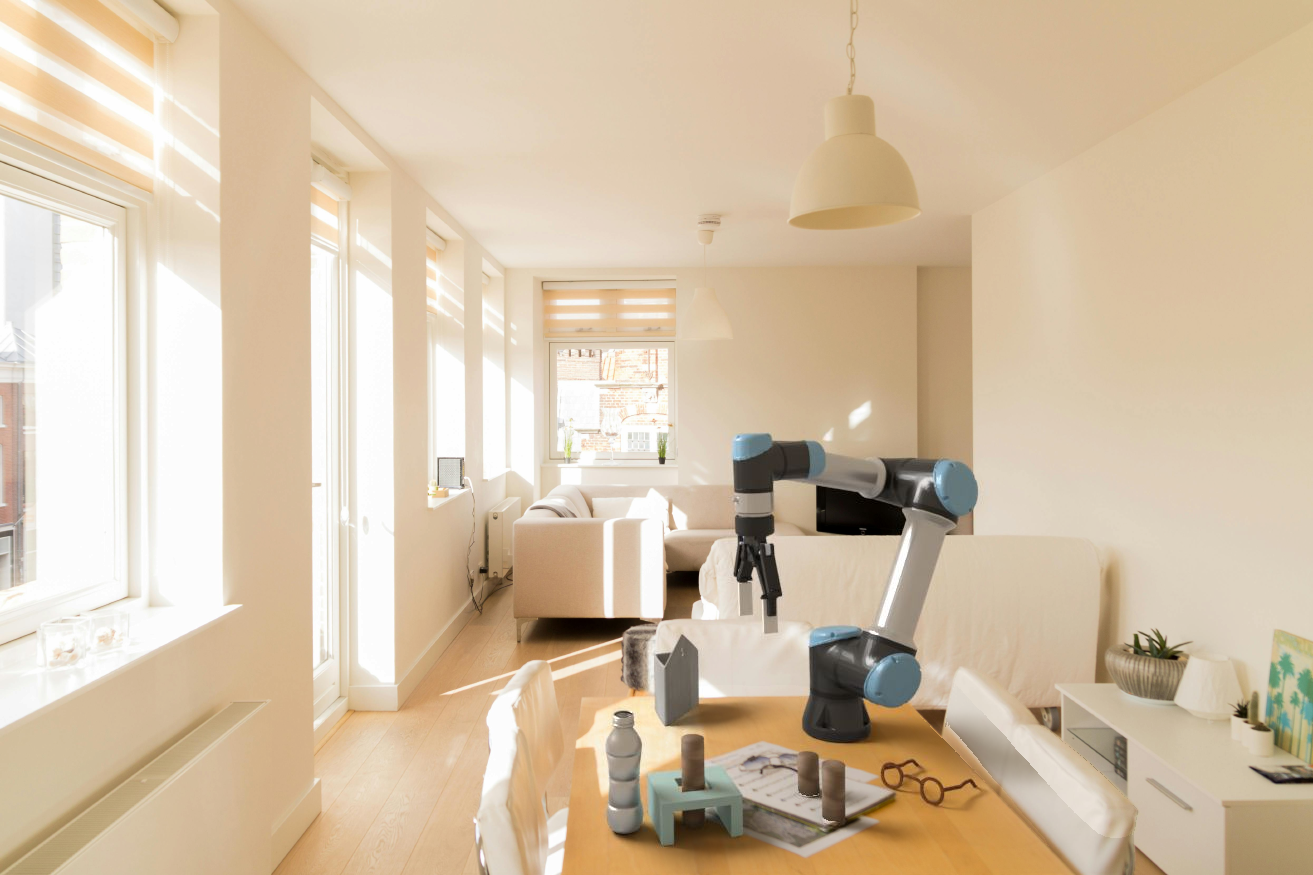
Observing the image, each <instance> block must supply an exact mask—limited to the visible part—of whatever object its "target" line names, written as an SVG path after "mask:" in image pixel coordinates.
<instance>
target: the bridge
mask: <svg viewBox="0 0 1313 875" xmlns="http://www.w3.org/2000/svg"><path fill="white" fill-rule="evenodd" d="M704 771H705V788H706V789H705V790H700V791H691V792H683V793H682V789H681V788H680V787H682V769H675V770H674V769H673V770H665V771H655V772H648V773H646V783H647V784H646V788H647V792H646V793H647V797H646V798H647V813H648V816H649V818H650V821H651V823H652V826H653V827H654V830H655V832H656V835H657V837H658V840H659V841H660V842H659V843H661V846H662V847H664V846H665V847H666V846H674V845H675V820H674V819H675V816H674V815H675V814H674V813H675V812H682V811H685V810H693V809H701V808H705V809H707V808H713V809H714V810H715V812H716V813H717V816H718V817H719V819H720V821H721V822H722V823H723V825H724V827H725V828H726V830H727V832H728V834H729V836H730V837H731V838H733V837H734V838H735V837H742V836H743V835H744V826H743V825H744V822H743V821H744V817H743V816H744V815H743V814H744V812H743V809H744V808H743V793H742V792H741V790H740V789H739V788H738V785H736V783H735V782H734V780H733V779H732V777H731V776H730V775H729V773H728V772H727V770H726V769H725V768H724V766H723V765H722V764H720V765H711V766H704Z"/></svg>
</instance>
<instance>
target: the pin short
mask: <svg viewBox="0 0 1313 875" xmlns="http://www.w3.org/2000/svg"><path fill="white" fill-rule="evenodd" d="M796 757H797V758H796V761H797V762H796V763H797V792H798V791H799V793H801V794H802V795H806V796H813V795H818V794H819V793H820V792H821V791H820V760H819V759H820V756H819V754H818V753H817V752H814V751H809V750H806V751H805V750H804V751H799V752H798V753H796ZM799 793H798V794H799ZM819 795H820V794H819ZM819 795H818V796H819Z"/></svg>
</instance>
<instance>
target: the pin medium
mask: <svg viewBox="0 0 1313 875" xmlns="http://www.w3.org/2000/svg"><path fill="white" fill-rule="evenodd" d="M822 817H823V818H824V819H826V820H828V821H836V822H839V823H837V825H836V827H838V828H839V827H843V826H844V825H846V820H845V819H847V818H846V764H845V762H843V761H841V760H839V759H838V760H837V759H825V760H823V761H822V762H821V818H822ZM836 827H835V828H836Z"/></svg>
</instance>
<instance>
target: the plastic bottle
mask: <svg viewBox="0 0 1313 875" xmlns="http://www.w3.org/2000/svg"><path fill="white" fill-rule="evenodd" d="M634 716H635V714H634V712H633V711H631V710H617V711H615V712H613V714H612V726H613V728H612V730H611V731H610V733H609V734H608V736H607V738H606V740H605V741H606V742H605V753H606V759H607V761H606V762H607V765H608V779H609V780H608V781H609V787H608V801H607V804H606V805H607V806H606V814H605V816H606V822H607V825H608V826H609V829H611V831H612V832H614V833H618V834H623V835H624V834H626V835H627V834H631V833H635V832H637V831H639V829H640V827H641V826H642V825H643V822H644V816H645V813H644V807H643V801H642V796H641V795H642V794H641V786H640V785H641V784H640V777H641V776H640V774H641V773H640V769H641V758H642V753H643V752H642V750H643V742H642V738H641V736H640V735H639V733H638V732H637V730H636V729H635V728H634V726H635V717H634Z"/></svg>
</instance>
